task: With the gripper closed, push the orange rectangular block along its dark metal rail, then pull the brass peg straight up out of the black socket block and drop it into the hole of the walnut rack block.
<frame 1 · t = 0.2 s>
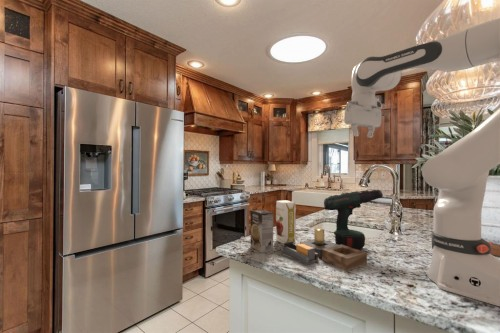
hand: (363, 136, 100), 47 cm above the worktop, tool pointing down, fingers open, 8 cm apart
orange rectangular block: (305, 251, 92), point 3 cm above the worktop, slide at 0.0 cm
key rail: (299, 257, 94), on the worktop
juice carton: (285, 242, 114), on the worktop
rack: (344, 261, 90), on the worktop
power drill: (352, 248, 105), on the worktop
brass peg: (319, 240, 101), in the socket block
coffee box: (261, 249, 105), on the worktop
socket block: (319, 250, 101), on the worktop
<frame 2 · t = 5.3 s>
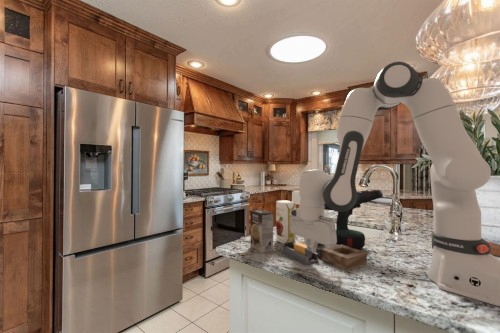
hand: (311, 251, 89), 4 cm above the worktop, tool pointing down, fingers closed
orange rectangular block: (302, 250, 93), point 3 cm above the worktop, slide at 1.4 cm, touching gripper
everything else where it was.
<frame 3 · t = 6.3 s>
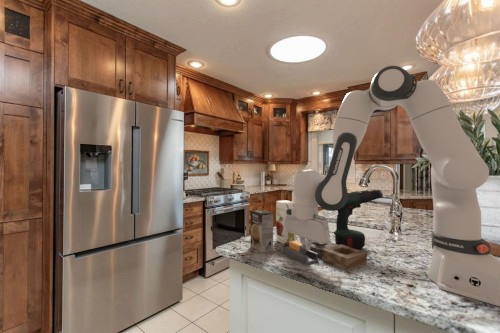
hand: (306, 249, 91), 4 cm above the worktop, tool pointing down, fingers closed
orange rectangular block: (297, 248, 95), point 3 cm above the worktop, slide at 4.4 cm, touching gripper
everything else where it was.
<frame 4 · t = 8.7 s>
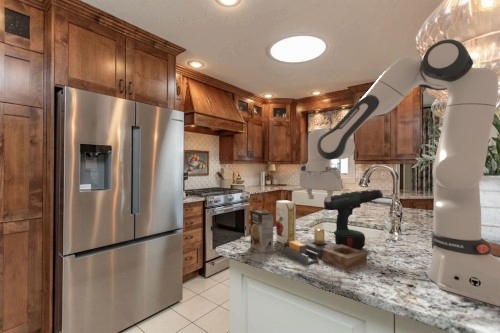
hand: (319, 200, 101), 21 cm above the worktop, tool pointing down, fingers open, 8 cm apart
orange rectangular block: (297, 248, 95), point 3 cm above the worktop, slide at 4.4 cm
everything else where it was.
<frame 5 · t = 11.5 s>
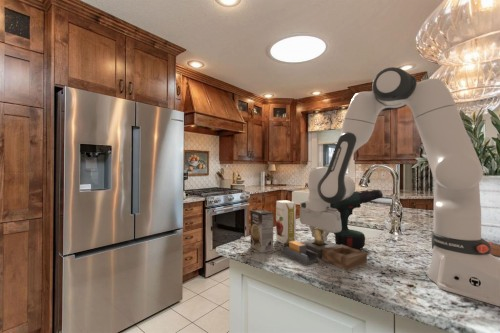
hand: (319, 238, 101), 5 cm above the worktop, tool pointing down, fingers closed on brass peg, 4 cm apart
brass peg: (319, 240, 101), in the socket block, touching gripper
everything else where it was.
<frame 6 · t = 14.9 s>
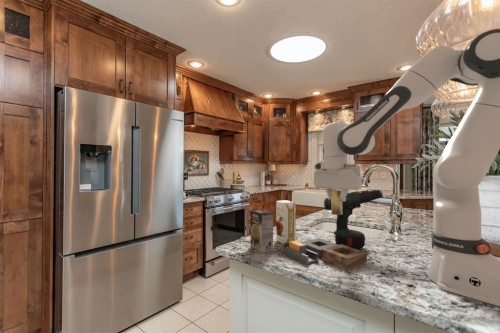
hand: (336, 200, 93), 22 cm above the worktop, tool pointing down, fingers closed on brass peg, 4 cm apart
brass peg: (336, 202, 93), point 22 cm above the worktop, touching gripper
everything else where it was.
when the fingers open (8 cm above the worktop, at t = 18.6 s): brass peg drops 1 cm, resting on rack.
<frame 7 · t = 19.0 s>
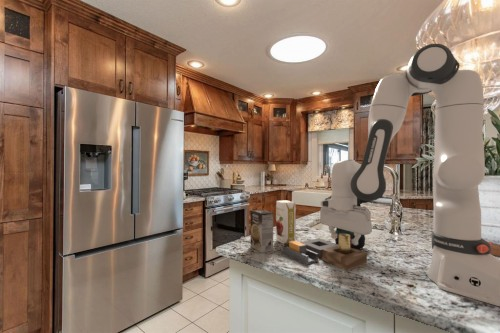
hand: (344, 241, 90), 8 cm above the worktop, tool pointing down, fingers open, 8 cm apart
brass peg: (344, 246, 90), in the rack, point 6 cm above the worktop
everything else where it was.
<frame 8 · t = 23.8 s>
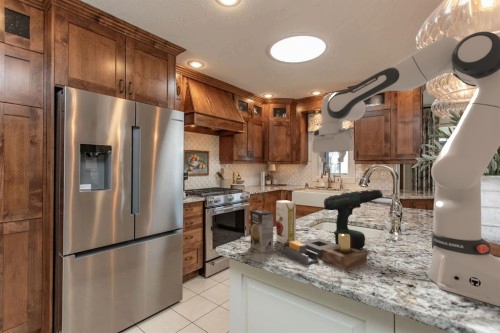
hand: (331, 162, 107), 37 cm above the worktop, tool pointing down, fingers open, 8 cm apart
nothing on the worktop moved.
at the end: orange rectangular block slide at 4.4 cm; brass peg 0.1 cm from the target spot, point 5.5 cm above the worktop; brass peg tilted 1° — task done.
